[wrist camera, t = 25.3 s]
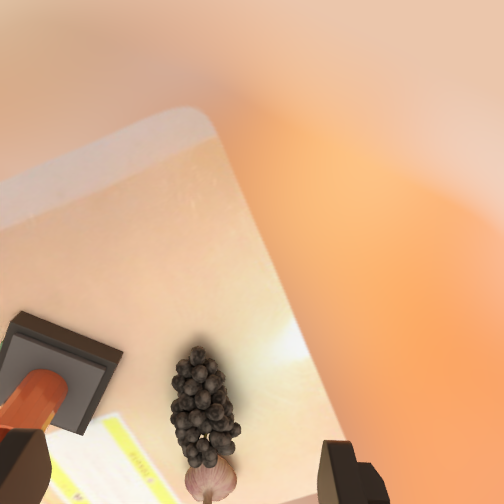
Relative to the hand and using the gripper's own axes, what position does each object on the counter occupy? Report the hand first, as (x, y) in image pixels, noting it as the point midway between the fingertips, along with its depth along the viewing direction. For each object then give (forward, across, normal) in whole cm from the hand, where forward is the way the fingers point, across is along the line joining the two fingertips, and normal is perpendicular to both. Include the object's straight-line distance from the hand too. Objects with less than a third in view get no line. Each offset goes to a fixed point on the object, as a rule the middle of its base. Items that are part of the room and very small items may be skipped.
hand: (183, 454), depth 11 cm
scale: (+32, +22, +25) cm, 46 cm away
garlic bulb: (+32, +2, +41) cm, 52 cm away
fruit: (+32, +3, +27) cm, 42 cm away
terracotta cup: (+29, +22, +25) cm, 44 cm away
